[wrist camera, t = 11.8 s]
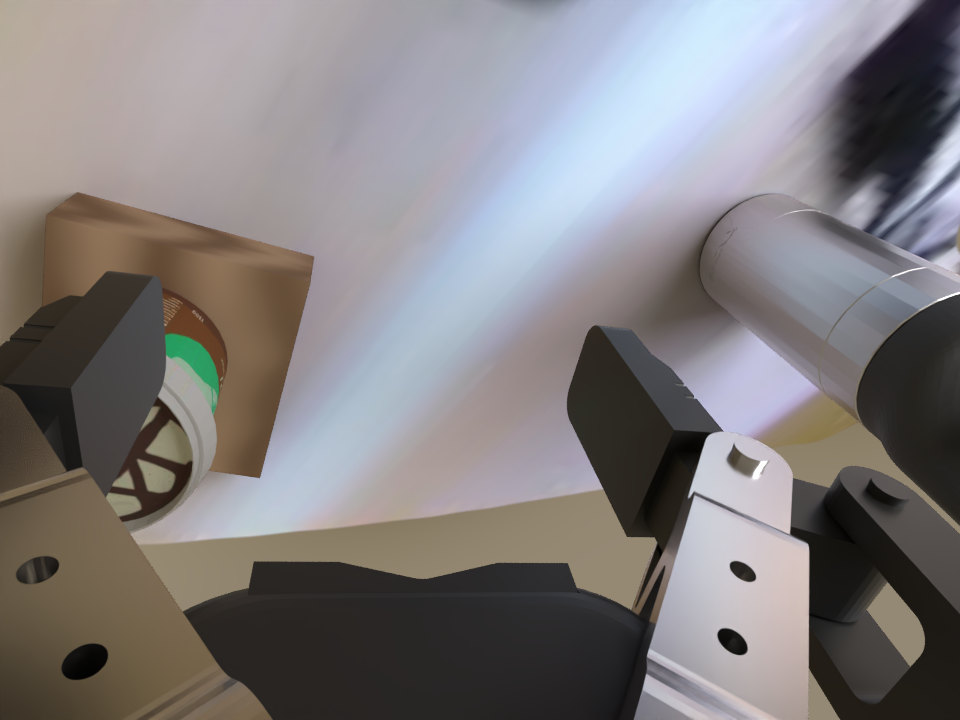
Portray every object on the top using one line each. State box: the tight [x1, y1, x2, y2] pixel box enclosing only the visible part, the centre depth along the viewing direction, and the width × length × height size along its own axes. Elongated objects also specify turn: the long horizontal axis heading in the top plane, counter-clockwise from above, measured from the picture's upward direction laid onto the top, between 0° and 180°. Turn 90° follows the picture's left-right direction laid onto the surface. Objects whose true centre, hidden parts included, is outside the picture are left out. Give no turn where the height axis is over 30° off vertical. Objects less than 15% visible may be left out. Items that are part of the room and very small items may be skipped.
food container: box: [106, 288, 228, 533], centre depth 34 cm, size 12×6×10 cm, turn 159°
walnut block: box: [42, 193, 314, 478], centre depth 40 cm, size 14×16×5 cm
